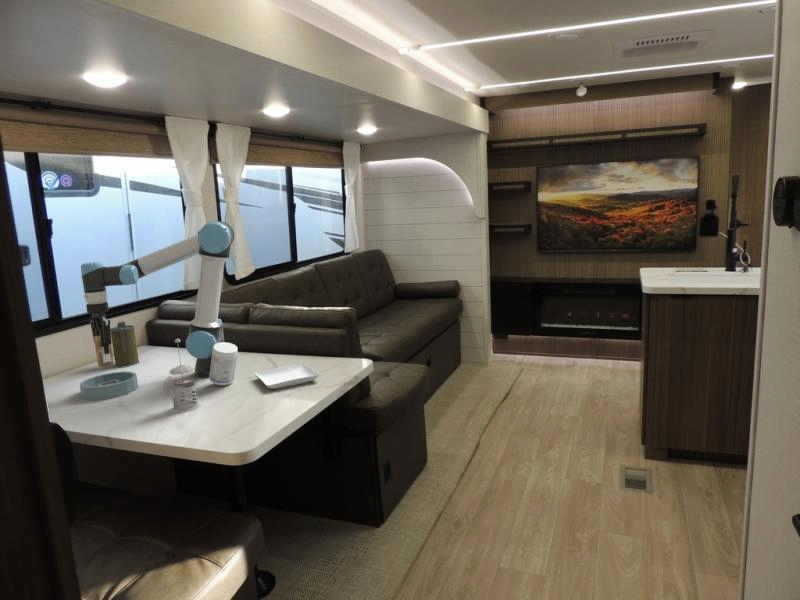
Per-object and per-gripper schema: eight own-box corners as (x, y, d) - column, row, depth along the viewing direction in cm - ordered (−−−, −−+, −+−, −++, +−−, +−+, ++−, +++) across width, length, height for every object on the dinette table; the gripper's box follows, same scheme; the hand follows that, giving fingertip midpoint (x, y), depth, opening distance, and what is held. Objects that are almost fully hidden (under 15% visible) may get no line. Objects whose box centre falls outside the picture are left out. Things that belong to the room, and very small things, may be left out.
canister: (115, 363, 274) (109, 322, 271) (139, 359, 279) (133, 318, 275) (114, 368, 265) (108, 325, 261) (139, 364, 269) (133, 322, 265)
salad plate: (254, 380, 235) (253, 371, 234) (304, 370, 244) (303, 362, 244) (267, 393, 216) (266, 385, 216) (321, 382, 226) (320, 374, 225)
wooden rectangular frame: (113, 364, 230) (109, 334, 228) (100, 367, 226) (96, 337, 224) (111, 363, 231) (106, 333, 229) (98, 366, 228) (93, 336, 226)
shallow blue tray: (147, 388, 232) (145, 376, 231) (95, 403, 217) (93, 390, 216) (123, 380, 245) (122, 369, 244) (73, 394, 229) (71, 382, 229)
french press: (205, 406, 206) (197, 337, 201) (173, 416, 198) (164, 344, 194) (193, 400, 213) (184, 334, 208) (161, 410, 205) (152, 341, 201)
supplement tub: (218, 372, 236) (222, 339, 232) (238, 379, 234) (243, 347, 229) (203, 380, 228) (207, 347, 223) (223, 389, 225) (228, 355, 220)
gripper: (78, 302, 227) (87, 361, 231) (95, 305, 217) (104, 366, 221) (97, 299, 232) (106, 356, 236) (115, 302, 222) (124, 361, 226)
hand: (105, 361), depth 229 cm, fingers closed on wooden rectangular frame, 2 cm apart
